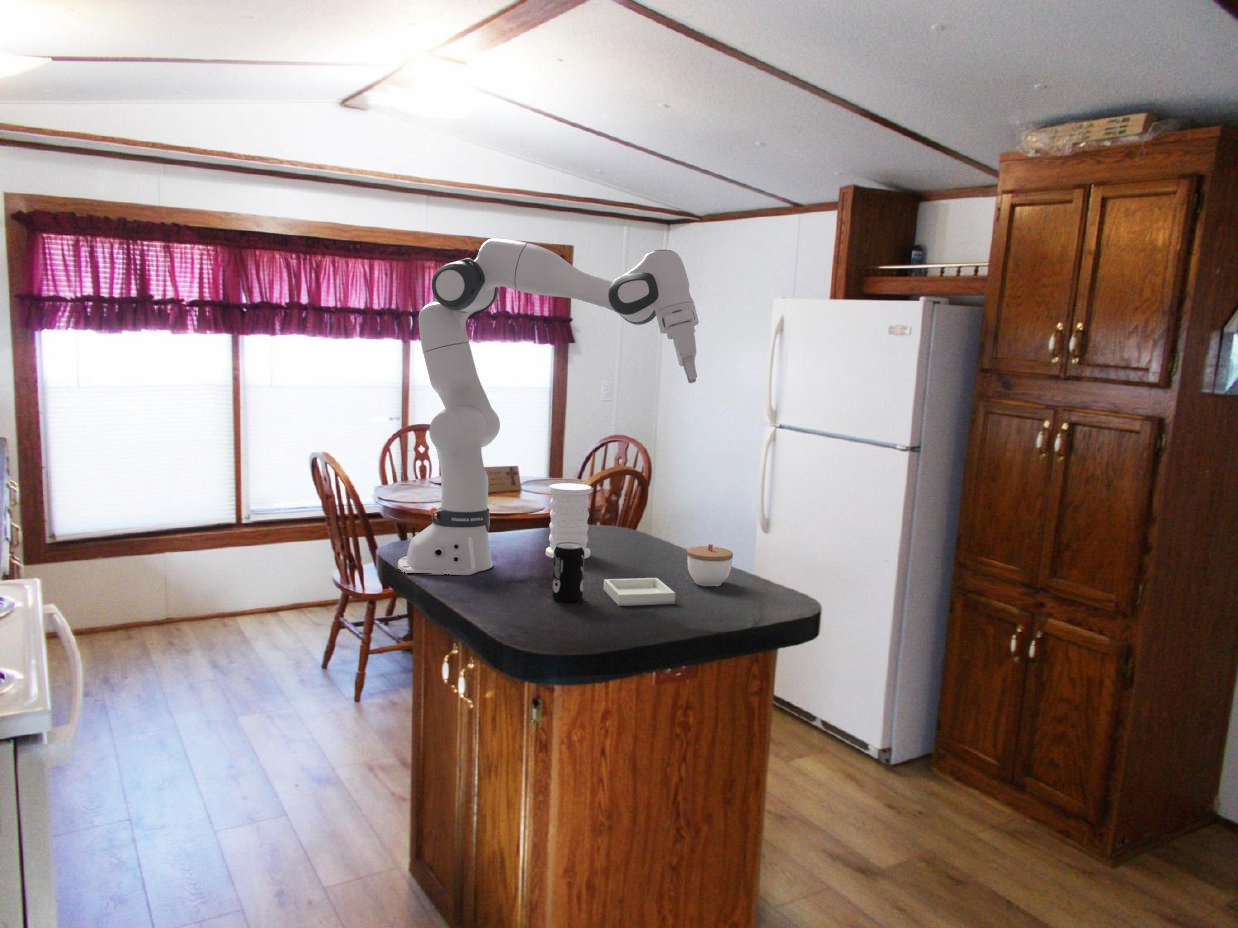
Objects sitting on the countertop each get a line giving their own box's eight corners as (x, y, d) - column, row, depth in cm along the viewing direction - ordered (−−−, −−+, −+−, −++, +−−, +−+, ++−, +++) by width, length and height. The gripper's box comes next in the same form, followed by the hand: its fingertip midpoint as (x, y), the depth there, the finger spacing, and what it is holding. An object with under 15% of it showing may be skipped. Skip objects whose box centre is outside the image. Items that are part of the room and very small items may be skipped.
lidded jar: (682, 576, 220) (684, 538, 218) (725, 577, 221) (728, 539, 220) (689, 589, 209) (692, 549, 208) (735, 589, 210) (738, 550, 209)
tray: (618, 605, 193) (619, 594, 193) (603, 589, 205) (603, 579, 205) (674, 603, 197) (675, 592, 196) (656, 587, 209) (657, 577, 208)
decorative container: (542, 549, 241) (544, 482, 239) (585, 549, 244) (588, 483, 242) (549, 560, 230) (551, 490, 228) (594, 559, 233) (597, 490, 231)
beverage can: (578, 604, 193) (580, 549, 191) (548, 601, 194) (550, 546, 192) (585, 596, 199) (587, 542, 198) (556, 593, 200) (558, 540, 199)
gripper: (664, 331, 214) (679, 388, 214) (663, 317, 194) (679, 380, 194) (690, 324, 214) (705, 381, 214) (692, 309, 193) (708, 372, 193)
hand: (693, 380), depth 203 cm, fingers open, 8 cm apart
